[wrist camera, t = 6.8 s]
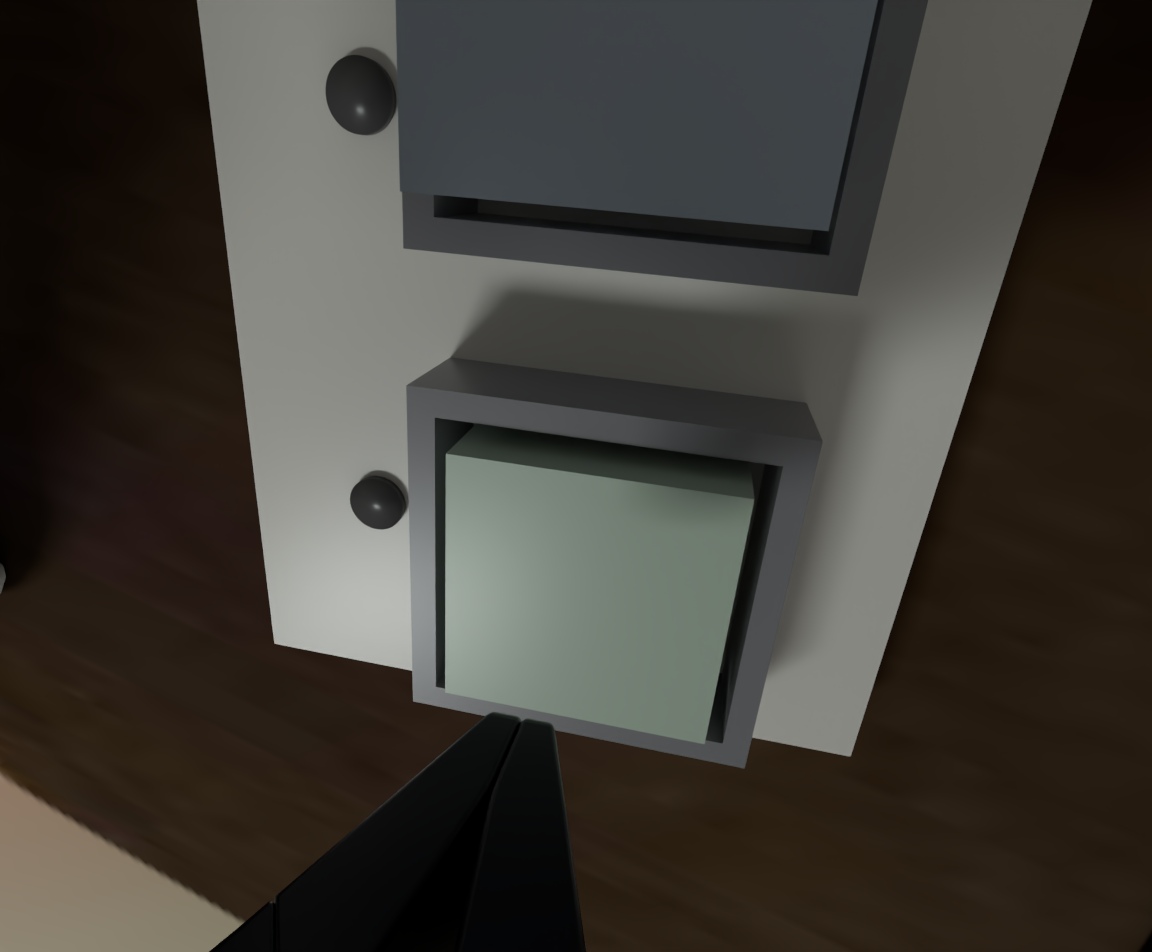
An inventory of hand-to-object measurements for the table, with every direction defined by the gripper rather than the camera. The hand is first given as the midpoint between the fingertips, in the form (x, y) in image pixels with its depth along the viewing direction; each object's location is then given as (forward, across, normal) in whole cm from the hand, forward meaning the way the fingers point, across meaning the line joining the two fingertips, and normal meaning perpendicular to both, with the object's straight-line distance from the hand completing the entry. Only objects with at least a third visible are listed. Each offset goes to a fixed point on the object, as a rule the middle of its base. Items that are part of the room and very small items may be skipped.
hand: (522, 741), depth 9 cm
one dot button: (+6, 0, 0) cm, 6 cm away
